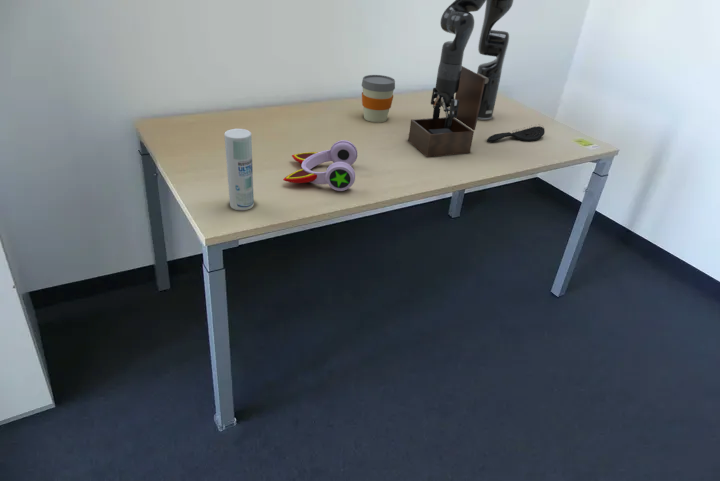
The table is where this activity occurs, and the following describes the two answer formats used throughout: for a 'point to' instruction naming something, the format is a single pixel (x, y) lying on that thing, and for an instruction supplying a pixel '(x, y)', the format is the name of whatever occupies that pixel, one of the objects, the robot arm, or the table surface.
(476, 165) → the table surface
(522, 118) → the table surface
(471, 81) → the case lid
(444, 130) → the duster
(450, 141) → the case
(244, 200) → the spray can
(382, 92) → the reusable coffee cup
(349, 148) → the headphones
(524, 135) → the hairbrush
